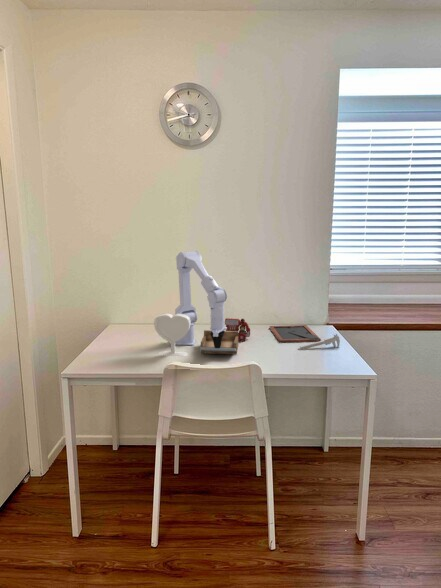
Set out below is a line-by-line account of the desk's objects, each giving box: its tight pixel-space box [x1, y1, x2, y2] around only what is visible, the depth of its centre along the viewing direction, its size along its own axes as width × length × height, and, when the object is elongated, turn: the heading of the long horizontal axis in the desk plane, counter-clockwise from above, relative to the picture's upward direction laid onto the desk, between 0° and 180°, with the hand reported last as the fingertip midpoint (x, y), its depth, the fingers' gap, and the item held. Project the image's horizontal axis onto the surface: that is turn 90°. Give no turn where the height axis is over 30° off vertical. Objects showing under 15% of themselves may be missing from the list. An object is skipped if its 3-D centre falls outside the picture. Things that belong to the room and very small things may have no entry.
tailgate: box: [199, 346, 236, 352], centre depth 180 cm, size 15×2×6 cm
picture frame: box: [269, 324, 322, 344], centre depth 211 cm, size 20×2×25 cm
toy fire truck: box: [224, 318, 251, 342], centre depth 203 cm, size 7×12×10 cm, turn 82°
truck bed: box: [200, 329, 239, 355], centre depth 189 cm, size 16×12×7 cm
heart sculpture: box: [153, 312, 191, 357], centre depth 182 cm, size 16×5×18 cm, turn 83°
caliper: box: [297, 333, 341, 351], centre depth 190 cm, size 20×1×6 cm, turn 102°
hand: (217, 348), depth 179 cm, fingers closed
